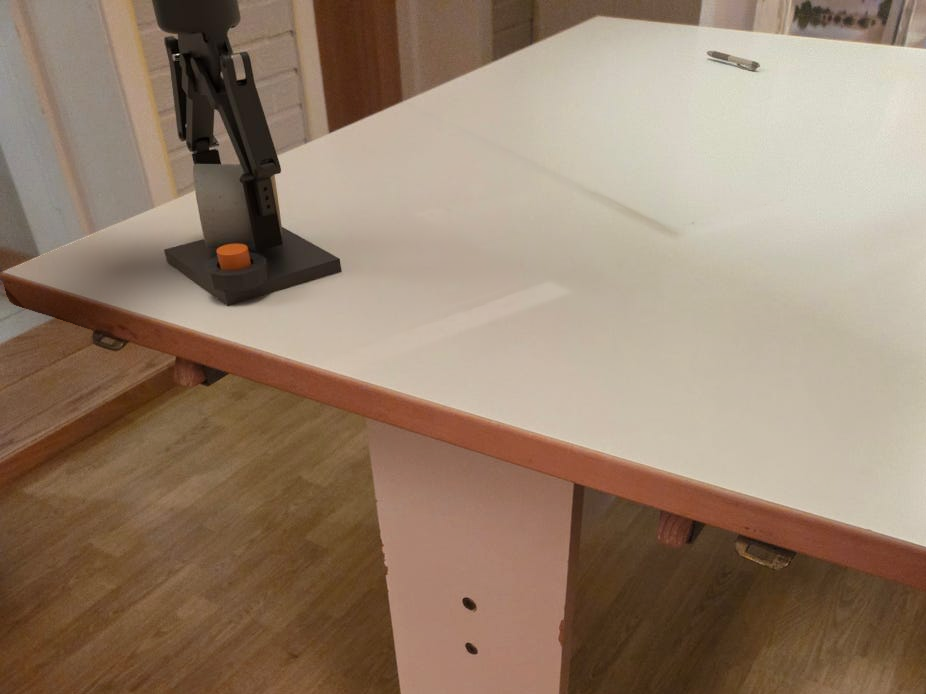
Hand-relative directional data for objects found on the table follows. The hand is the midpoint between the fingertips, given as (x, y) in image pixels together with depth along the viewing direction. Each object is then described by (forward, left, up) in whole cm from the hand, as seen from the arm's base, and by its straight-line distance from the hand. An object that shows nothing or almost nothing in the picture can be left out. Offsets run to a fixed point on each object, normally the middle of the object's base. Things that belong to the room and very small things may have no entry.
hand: (243, 231), depth 93 cm
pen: (-25, +107, -3) cm, 110 cm away
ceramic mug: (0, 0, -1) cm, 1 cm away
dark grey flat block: (+3, -1, -3) cm, 4 cm away
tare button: (+8, -5, 0) cm, 10 cm away
